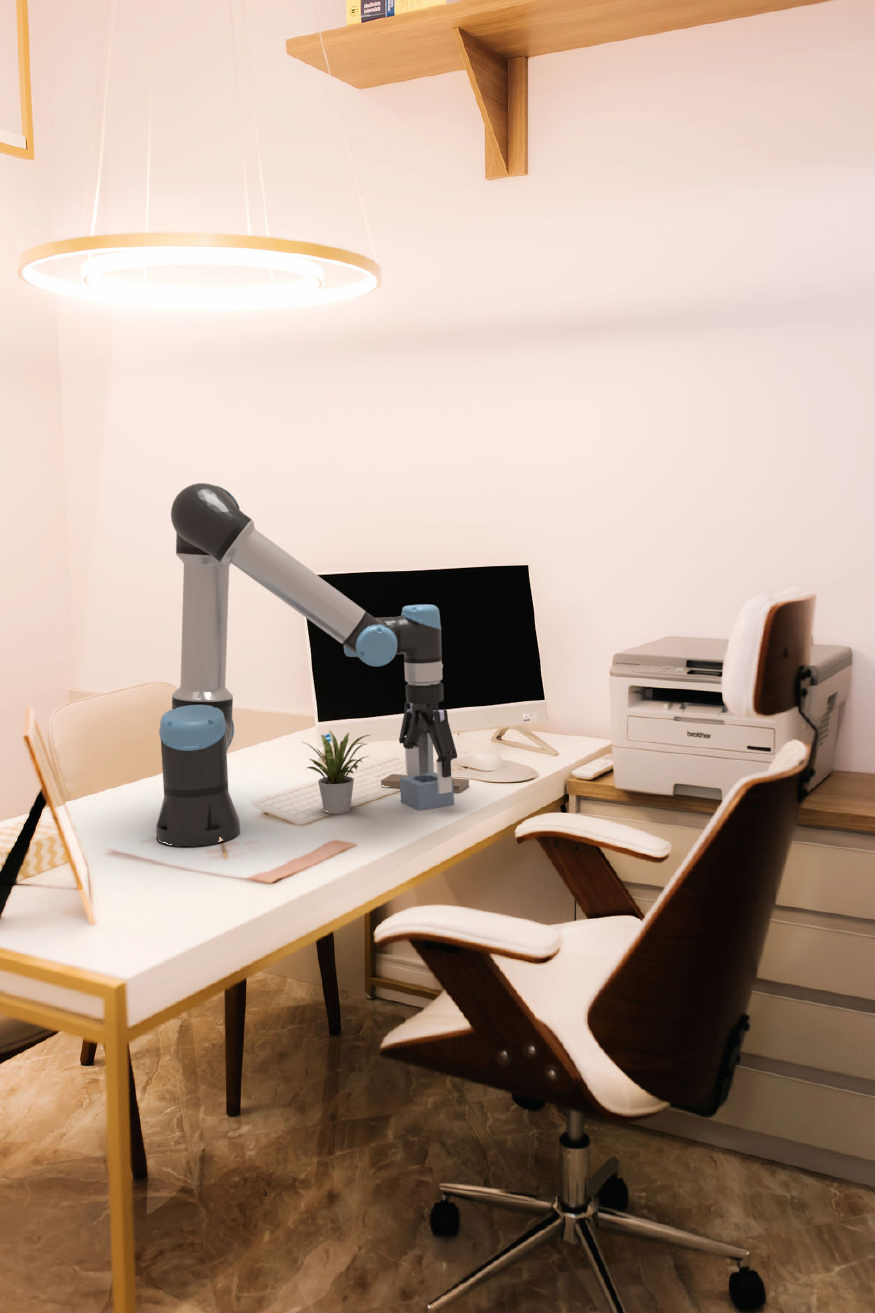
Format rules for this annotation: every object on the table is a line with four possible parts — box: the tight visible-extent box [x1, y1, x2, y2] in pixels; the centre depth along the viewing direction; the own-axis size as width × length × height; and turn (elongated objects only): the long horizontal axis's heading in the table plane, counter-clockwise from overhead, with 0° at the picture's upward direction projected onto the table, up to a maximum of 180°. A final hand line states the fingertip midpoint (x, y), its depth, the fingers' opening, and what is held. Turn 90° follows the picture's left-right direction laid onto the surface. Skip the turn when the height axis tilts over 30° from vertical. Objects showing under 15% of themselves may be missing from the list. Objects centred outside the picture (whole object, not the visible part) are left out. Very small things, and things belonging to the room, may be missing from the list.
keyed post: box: [380, 729, 470, 794], centre depth 224 cm, size 6×18×14 cm, turn 69°
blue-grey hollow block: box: [399, 772, 455, 811], centre depth 212 cm, size 8×8×5 cm
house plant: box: [302, 729, 371, 815], centre depth 207 cm, size 14×14×16 cm
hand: (428, 785), depth 212 cm, fingers open, 13 cm apart
